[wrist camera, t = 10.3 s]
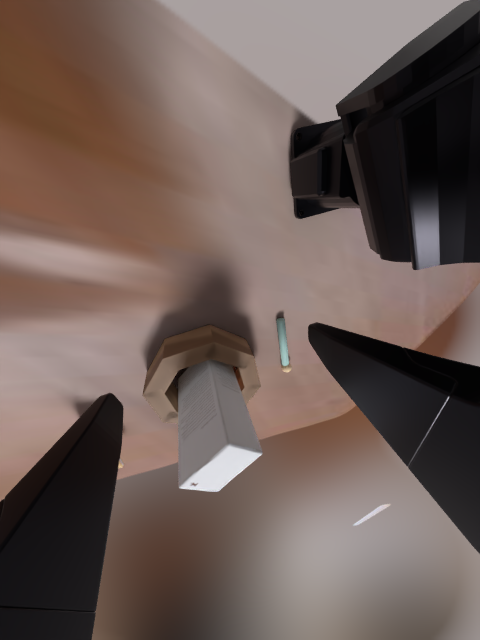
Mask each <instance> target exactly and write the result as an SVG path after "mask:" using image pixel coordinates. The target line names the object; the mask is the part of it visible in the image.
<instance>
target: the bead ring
mask: <svg viewBox="0 0 480 640" xmlns="http://www.w3.org/2000/svg"><path fill="white" fill-rule="evenodd" d="M210 359H213V360H216V361H220V362H223V363H226V364H229V365H232V366H236V367H238V368H237V369H236V371H235V375H236V378H237V381H238V384H239V387H240V390H241V392H242V395H243V398H244V401H245V404H247V403H248V402H249V400H250V399H251V398H252V397H253V395H254V394H255V393H256V392H257V390H258V389H259V388H260V386H261V385H260V380H259V376H258V371H257V367H256V363H255V358H254V355H253V353H252V351H251V349H250V347H249V345H248V343H247V341H246V339H244V338H242V337H239V336H237V335H234V334H232V333H229V332H227V331H224V330H222V329H219V328H217V327H214V326H212V325H210V324H209V325H206V326H203V327H200V328H197V329H194V330H191V331H188V332H184V333H181V334H178V335H175V336H172V337H169V338H166V339H165V340H164V342H163V343H162V345H161V347H160V349H159V351H158V353H157V355H156V356H155V358H154V360H153V362H152V364H151V366H150V368H149V369H148V371H147V375H146V380H145V385H144V390H143V397H144V398H145V399H146V401H147V402H148V403H149V405H150V406H151V407H152V409H153V410H154V411H155V413H156V414H157V415H158V417H159V418H160V419H161V421H162V422H165V423H172V424H178V389H177V388H176V387H175V385H174V383H173V382H172V381H173V379H174V377H175V376H176V374H177V372H178V371H179V370H181V369H184V368H187V367H189V366H192V365H195V364H198V363H201V362H204V361H207V360H210Z"/></svg>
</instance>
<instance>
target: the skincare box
mask: <svg viewBox="0 0 480 640" xmlns="http://www.w3.org/2000/svg"><path fill="white" fill-rule="evenodd" d="M178 442H179V488H182V489H192V490H201V491H215V492H216V491H217V492H218V491H219V490H220V489H222V488H223V487H224V486H225V485H226V484H227V483H228V482H229V481H231V480H232V479H233V478H234V477H235V476H236V475H237V474H239V473H240V472H241V471H243V470H244V469H245V468H246V467H247V466H249V465H250V464H251V463H252V462H253V461H254V460H255V459H257V458H258V457H259V456H260V455H262V449H261V447H260V443H259V441H258V438H257V435H256V432H255V429H254V427H253V424H252V421H251V418H250V415H249V412H248V410H247V407H246V404H245V401H244V398H243V395H242V392H241V390H240V387H239V384H238V381H237V378H236V375H235V372H234V370H233V367H232V365H229V364H226V363H223V362H220V361H216V360H213V359H210V360H207V361H204V362H201V363H198V364H195V365H192V366H189V368H188V369H187V370H186V371H185V372H184V373H183V374H182V375H181V376H180V377H179V378H178Z"/></svg>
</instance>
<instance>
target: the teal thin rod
mask: <svg viewBox="0 0 480 640" xmlns="http://www.w3.org/2000/svg"><path fill="white" fill-rule="evenodd" d="M276 321H277V329H278V337H279V345H280V353H281V361H282V366H281V368H282V370H283V371H284V372H289V371H290V370H291V365H290V364H289V359H288V349H287V339H286V329H285V319H284V318H278V319H277V320H276Z"/></svg>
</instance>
